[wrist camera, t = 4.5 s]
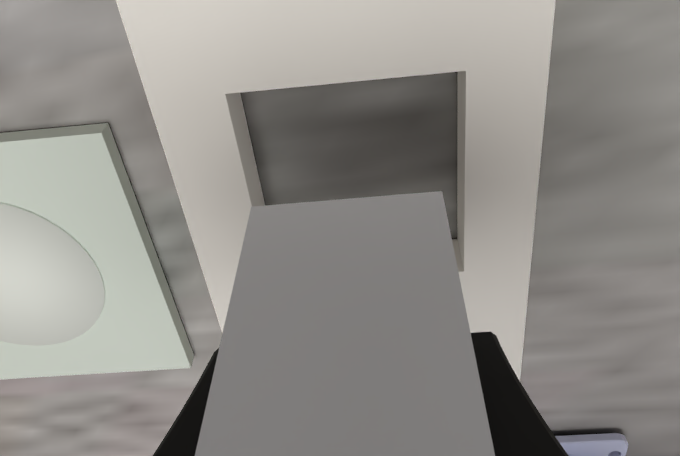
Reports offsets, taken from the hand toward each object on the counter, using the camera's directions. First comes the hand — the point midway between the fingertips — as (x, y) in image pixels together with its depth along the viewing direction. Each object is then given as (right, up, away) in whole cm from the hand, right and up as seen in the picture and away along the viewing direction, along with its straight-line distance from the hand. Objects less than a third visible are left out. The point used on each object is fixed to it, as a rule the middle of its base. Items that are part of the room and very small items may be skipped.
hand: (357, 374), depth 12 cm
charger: (0, +2, +2) cm, 3 cm away
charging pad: (-11, +2, +9) cm, 15 cm away
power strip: (0, +3, +8) cm, 9 cm away
